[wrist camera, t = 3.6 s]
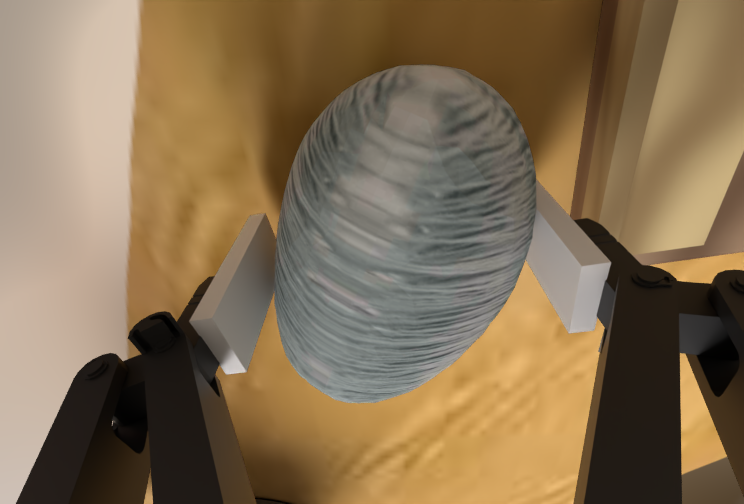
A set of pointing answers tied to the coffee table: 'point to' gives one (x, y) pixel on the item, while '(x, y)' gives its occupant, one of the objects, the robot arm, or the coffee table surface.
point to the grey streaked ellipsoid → (401, 230)
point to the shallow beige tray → (666, 129)
